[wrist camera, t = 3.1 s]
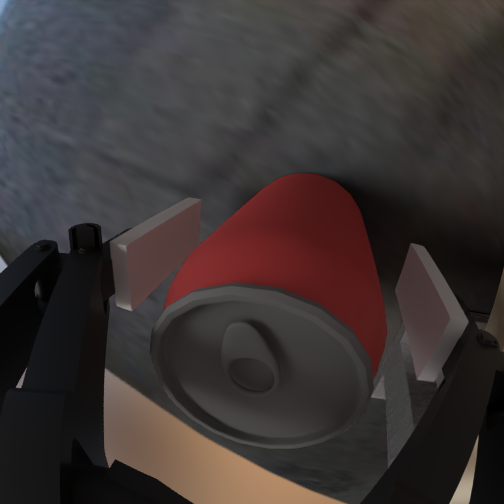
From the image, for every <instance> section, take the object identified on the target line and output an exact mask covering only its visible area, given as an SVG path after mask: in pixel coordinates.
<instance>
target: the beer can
mask: <svg viewBox="0 0 504 504" xmlns="http://www.w3.org/2000/svg"><path fill="white" fill-rule="evenodd" d="M386 336H387V324H386V315H385V307H384V300H383V295H382V291H381V286H380V282H379V278H378V274H377V270H376V266H375V262H374V258H373V254H372V250H371V246H370V242H369V239H368V235H367V232H366V228H365V225H364V221H363V218H362V214H361V211H360V209H359V207H358V206H357V204H356V203H355V201H354V199H353V198H352V196H351V194H350V193H348V192H347V191H346V190H345V189H344V188H343V187H341V186H340V185H339V184H338V183H337V182H335V181H333V180H330V179H328V178H325V177H323V176H320V175H318V174H307V173H295V174H291V175H288V176H284V177H280V178H278V179H276V180H275V181H273V182H272V183H270V184H269V185H267V186H266V187H264V188H263V189H262V190H261V191H260V192H258V193H257V194H256V195H255V196H254V197H253V198H252V199H250V200H249V201H248V202H247V203H246V204H245V205H244V206H242V207H241V208H240V209H239V210H238V211H237V212H236V213H235V214H233V215H232V216H231V217H230V218H229V219H228V220H227V221H226V222H224V223H223V224H222V225H221V226H220V227H219V228H218V229H217V230H216V231H214V232H213V233H212V234H211V235H210V236H209V237H208V238H207V239H206V240H204V241H203V242H202V243H201V244H200V245H199V246H198V247H197V248H196V249H195V250H194V251H192V252H191V253H190V255H189V256H188V258H187V259H186V261H185V262H184V264H183V265H182V267H181V269H180V270H179V272H178V273H177V275H176V276H175V278H174V280H173V282H172V284H171V286H170V288H169V290H168V293H167V297H166V302H165V306H164V312H163V313H162V315H161V316H160V318H159V320H158V321H157V323H156V324H155V326H154V327H153V329H152V335H151V343H150V356H151V360H152V363H153V367H154V370H155V374H156V377H157V379H158V380H159V382H160V384H161V385H162V387H163V388H164V390H165V391H166V393H167V394H168V396H169V397H170V399H171V400H172V401H173V402H174V403H175V404H176V405H177V406H178V407H179V408H180V409H181V410H182V411H183V412H184V413H185V414H187V415H188V416H189V417H190V418H191V419H193V420H194V421H196V422H197V423H199V424H200V425H202V426H204V427H205V428H207V429H209V430H210V431H212V432H214V433H216V434H218V435H221V436H223V437H226V438H228V439H231V440H233V441H236V442H239V443H242V444H247V445H252V446H258V447H263V448H277V449H290V448H300V447H305V446H310V445H314V444H319V443H322V442H324V441H326V440H328V439H331V438H333V437H335V436H337V435H338V434H340V433H342V432H344V431H346V430H348V429H349V428H350V427H351V426H352V425H353V424H354V423H355V422H356V421H357V420H358V419H359V418H360V417H361V416H362V415H363V414H364V413H365V411H366V409H367V406H368V403H369V401H370V398H371V396H372V393H373V390H374V383H373V380H374V377H375V375H376V373H377V370H378V367H379V364H380V361H381V357H382V354H383V351H384V347H385V342H386Z"/></svg>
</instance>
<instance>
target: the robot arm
mask: <svg viewBox="0 0 504 504" xmlns="http://www.w3.org/2000/svg"><path fill="white" fill-rule="evenodd" d="M200 216H201V200H200V199H195V198H189V197H188V198H187V199H185V200H183V201H181V202H179V203H177V204H175V205H173V206H172V207H170V208H168V209H166V210H164V211H162V212H161V213H159V214H157V215H155V216H153V217H152V218H150V219H148V220H146V221H144V222H143V223H141V224H139V225H137V226H136V227H134V228H130V229H127V230H125V231H123V232H122V233H120V234H118V235H116V236H115V237H114V238H111V239H110V240H108V241H106V242H105V243H103V244H102V235H101V226H99V225H98V224H94V223H84V224H79V225H75V226H73V227H71V228H70V229H69V230H68V231H69V240H70V248H71V251H70V253H69V254H67V253H59V252H58V245H57V242H55V241H51V240H43V241H42V240H41V241H39V242H37V243H34V244H33V245H31V246H30V247H29V248H28V249H27V250H25V251H24V252H23V253H22V254H21V255H20V256H19V257H18V258H16V259H15V260H14V261H13V262H12V263H11V264H10V265H9V266H8V267H7V268H6V269H5V270H3V271H2V272H1V273H0V504H193V503H192V502H190V501H189V500H187V499H185V498H184V497H182V496H181V495H179V494H178V493H176V492H174V491H173V490H172V489H170V488H169V487H167V486H166V485H164V484H163V483H162V482H160V481H159V480H157V479H156V478H153V477H151V476H149V475H147V474H144V473H142V472H140V471H138V470H136V469H134V468H132V467H130V466H127V465H126V464H124V463H122V462H119V461H118V460H115V461H114V462H113V464H112V465H111V467H110V468H109V467H108V463H107V460H106V456H105V450H104V417H103V415H104V413H103V412H104V411H103V410H104V407H103V405H104V404H103V403H104V372H105V355H106V342H107V330H108V320H109V311H110V304H109V298H110V297H111V296H112V295H113V294H114V293H115V298H116V305H117V306H119V307H121V308H124V309H127V310H130V311H133V310H134V309H135V308H136V307H137V306H138V305H139V304H140V303H141V302H142V301H143V300H144V299H145V298H146V297H147V296H148V295H149V294H150V293H151V292H152V291H153V290H154V289H155V288H157V287H158V286H159V285H160V284H161V283H162V282H163V281H164V280H165V279H166V278H167V277H168V276H169V275H170V274H171V273H172V272H173V271H174V270H175V269H176V268H178V267H179V266H180V265H181V264H182V263H183V262H184V261H185V260H186V259H187V258H188V256H189V255H190V253H191V252H192V251H194V250H195V249H196V248H197V247H198V246H199V233H200ZM35 285H36V287H37V291H38V294H37V295H36V297H35V291H34V289H35ZM395 293H396V296H397V300H398V303H399V307H400V310H401V314H402V318H403V322H404V325H405V329H406V333H407V337H408V341H409V345H410V350H411V354H412V359H413V363H414V368H415V373H416V377H417V380H423V381H431V382H434V381H435V380H436V378H437V377H438V375H439V373H440V372H441V370H442V372H443V375H444V379H443V380H442V382H441V383H440V385H439V386H438V388H437V389H436V391H435V392H434V394H433V395H432V397H431V398H430V399H429V400H431V402H430V404H429V405H428V407H427V409H426V411H425V412H424V414H423V416H422V418H421V419H420V421H419V423H418V424H417V426H416V428H415V429H414V431H413V432H412V434H411V436H410V437H409V439H408V440H407V442H406V443H405V445H404V446H403V448H402V449H401V451H400V452H399V454H398V455H397V457H396V458H395V460H394V461H393V462H392V464H391V465H390V467H389V468H388V469H387V471H386V472H385V473H384V475H383V476H382V477H381V479H380V480H379V481H378V483H377V484H376V485H375V486H374V488H373V489H372V490H371V491H370V493H369V494H368V495H367V496H366V497H365V499H364V500H363V501H362V502H361V503H360V504H449V503H450V502H451V500H452V498H453V495H454V493H455V491H456V489H457V487H458V485H459V483H460V481H461V478H462V476H463V474H464V471H465V469H466V467H467V464H468V462H469V459H470V457H471V454H472V451H473V449H474V446H475V443H476V440H477V438H478V447H477V457H476V465H475V472H474V479H473V485H472V491H471V496H470V501H469V504H504V352H502V351H500V344H499V342H498V340H497V339H496V338H495V337H494V336H493V335H492V334H490V333H489V332H487V331H485V330H482V329H479V328H478V326H477V324H476V322H475V321H474V319H473V317H472V316H471V313H470V312H469V310H468V308H467V306H466V305H465V303H464V301H462V300H461V299H460V298H459V297H458V296H457V295H455V294H453V292H452V291H451V289H450V287H449V285H448V284H447V282H446V280H445V279H444V277H443V275H442V274H441V272H440V271H439V269H438V267H437V266H436V264H435V263H434V261H433V259H432V258H431V256H430V255H429V253H428V252H427V250H426V249H425V247H424V246H421V245H417V244H413V243H410V247H409V250H408V253H407V256H406V259H405V262H404V265H403V268H402V271H401V274H400V277H399V280H398V283H397V286H396V288H395ZM26 368H27V370H26V373H25V377H24V381H23V385H22V387H21V388H16V386H17V384H18V382H19V380H20V378H21V376H22V375H23V373H24V371H25V369H26Z"/></svg>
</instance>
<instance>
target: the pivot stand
mask: <svg viewBox="0 0 504 504" xmlns="http://www.w3.org/2000/svg"><path fill="white" fill-rule="evenodd" d="M469 312H470V311H469ZM470 313H471V316H472V317H473V319H474V321H475V322H476V324H477V326H478V328H479V329H482V330H485V329H486V326H487V323H488V320H489V317H490V315H486V314H481V313H475V312H470ZM443 379H444V375H443V372H442V370H441V372H440V373H439V375H438V377H437V378H436V380H435V381H434V382H431V381H423V380H417V377H416V373H415V368H414V363H413V359H412V354H411V350H410V345H409V341H408V337H407V333H406V329H405V325H404V322H403V320H402V322H401V324H400V327H399V329H398V331H397V333H396V336H395V338H394V340H393V342H392V344H391V346H390V348H389V350H388V353H387V355H386V357H385V359H384V361H383V363H382V365H381V367H380V369H379V370H378V372H377V374H376V376H375V378H374V380H373V383H374V390H373V393H372V396H371V397H372V398H379V399H385V400H386V416H387V439H388V468H389V467H390V465H391V464H392V462H393V461H394V460H395V458H396V457H397V455H398V454H399V452H400V451H401V449H402V448H403V446H404V445H405V443H406V442H407V440H408V439H409V437H410V436H411V434H412V432H413V431H414V429H415V428H416V426H417V424H418V423H419V421H420V419H421V418H422V416H423V414H424V412H425V411H426V409H427V407H428V405H429V404H430V402H431V400H429V399H430V398H431V397H432V395H433V394H434V392H435V391H436V389H437V388H438V386H439V385H440V383H441V382H442V380H443Z"/></svg>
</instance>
